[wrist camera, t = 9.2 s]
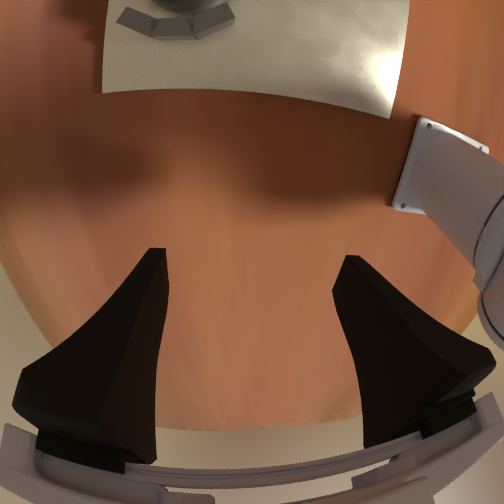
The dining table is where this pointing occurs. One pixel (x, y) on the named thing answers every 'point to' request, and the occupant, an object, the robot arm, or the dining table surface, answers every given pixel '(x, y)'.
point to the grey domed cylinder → (181, 4)
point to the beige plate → (261, 49)
